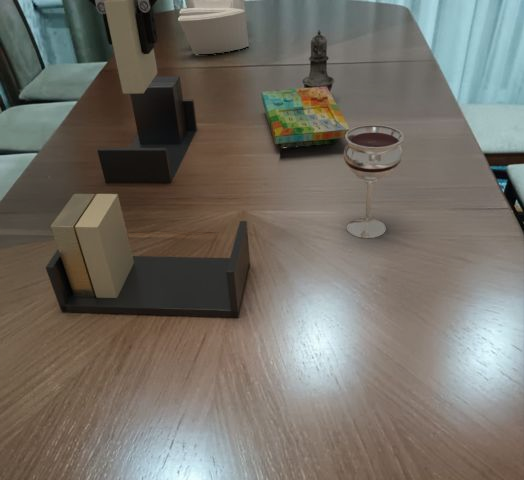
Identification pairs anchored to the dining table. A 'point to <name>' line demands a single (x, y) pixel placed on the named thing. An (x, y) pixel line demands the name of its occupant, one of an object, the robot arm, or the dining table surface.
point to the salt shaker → (318, 64)
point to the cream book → (129, 47)
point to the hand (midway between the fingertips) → (134, 49)
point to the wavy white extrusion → (214, 25)
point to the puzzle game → (304, 117)
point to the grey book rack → (154, 136)
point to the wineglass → (371, 167)
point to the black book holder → (137, 268)
